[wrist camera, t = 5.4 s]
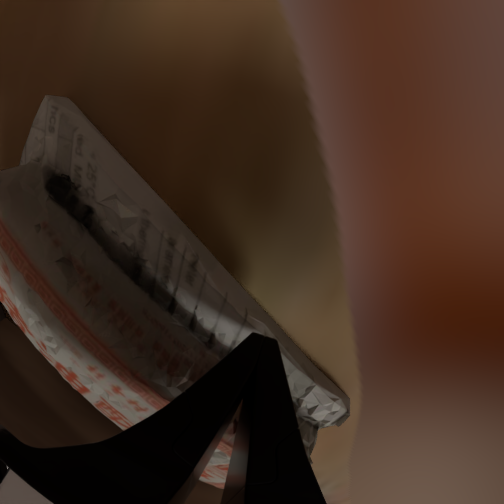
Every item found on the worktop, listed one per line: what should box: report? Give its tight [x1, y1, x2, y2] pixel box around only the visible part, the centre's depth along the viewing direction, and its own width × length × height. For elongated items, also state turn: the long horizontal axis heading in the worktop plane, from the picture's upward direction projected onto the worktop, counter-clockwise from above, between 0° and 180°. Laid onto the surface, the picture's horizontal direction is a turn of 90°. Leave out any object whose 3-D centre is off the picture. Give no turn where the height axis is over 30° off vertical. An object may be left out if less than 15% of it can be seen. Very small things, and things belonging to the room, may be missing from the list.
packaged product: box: [0, 95, 350, 489], centre depth 11 cm, size 18×5×10 cm
